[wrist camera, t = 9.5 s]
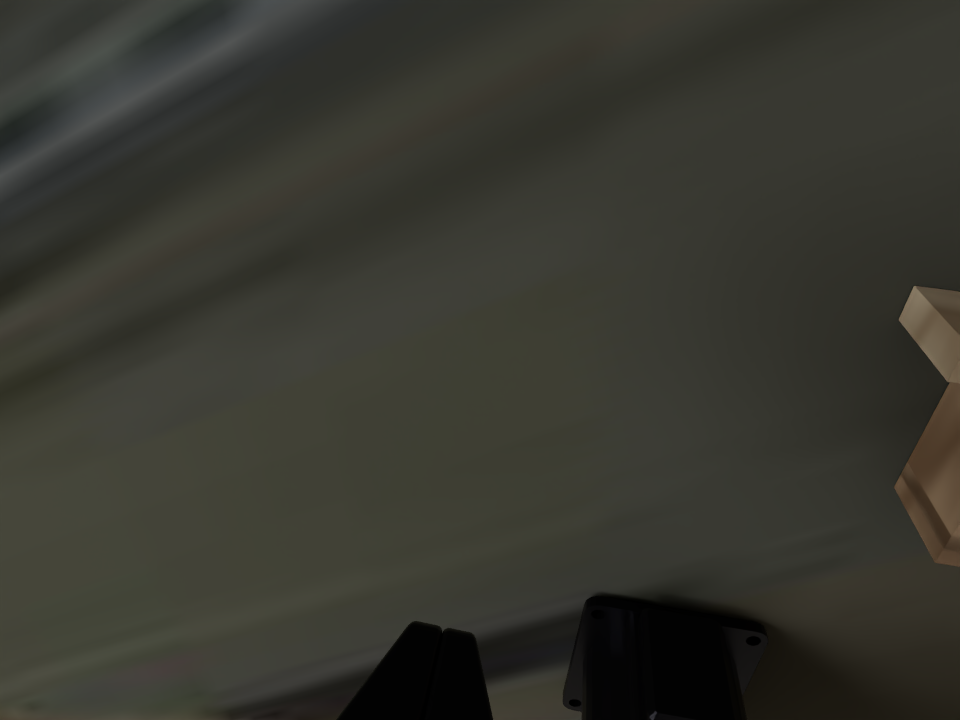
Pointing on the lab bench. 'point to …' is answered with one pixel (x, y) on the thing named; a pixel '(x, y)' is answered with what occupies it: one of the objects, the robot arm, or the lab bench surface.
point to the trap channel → (936, 427)
